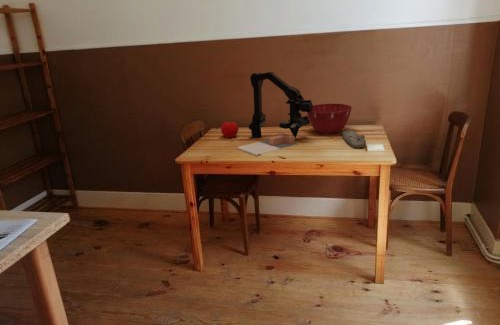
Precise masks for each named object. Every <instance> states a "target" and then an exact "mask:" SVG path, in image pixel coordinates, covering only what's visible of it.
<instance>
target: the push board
mask: <svg viewBox="0 0 500 325" xmlns="http://www.w3.org/2000/svg"><path fill="white" fill-rule="evenodd" d="M296 145H298V143H297V142H295V143H293V144H286V143H284V144H279V145H275V146H273V145H270V140H269V139H267V140H262V141H257V142H254V143H248V144H244V145H240V146H237V147H236V150H239V151H241V152H244V153H247V154H249V155H252V156H255V157H259V156H260V157H261V156H262V154H264V153H268V152H273V151H277V150H281V149H285V148H289V147H292V146H296Z"/></svg>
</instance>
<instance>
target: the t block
mask: <svg viewBox="0 0 500 325" xmlns="http://www.w3.org/2000/svg"><path fill="white" fill-rule="evenodd" d="M268 140H270V145H273V146H275V145H279V144H284V143H286V144H293V143H296V138H295V136H293V135H291V134H288V133H284V132H280V133H276V135H275V136H270V137H269V139H268Z"/></svg>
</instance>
